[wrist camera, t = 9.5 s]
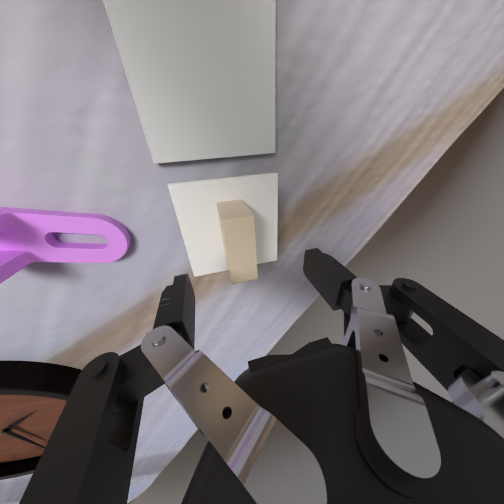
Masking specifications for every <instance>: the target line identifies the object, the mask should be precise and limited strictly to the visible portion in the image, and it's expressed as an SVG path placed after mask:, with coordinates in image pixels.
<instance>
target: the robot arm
mask: <svg viewBox="0 0 504 504" xmlns="http://www.w3.org/2000/svg"><path fill="white" fill-rule="evenodd" d="M303 271H304V274H305V276H306V277H307V279H308V280H309V281H310V282H311V283H312V285H313V286H314V287H315V288H316V290H317V291H318V292H319V293H320V294H321V296H322V297H323V298H324V299H325V300H326V302H327V303H328V304H329V305H330V306H331V308H332V309H333V310H338V309H342V310H343V313H342V345H340V344H332V343H331V342H330V340H329V339H328V338H324V339H320V340H317V341H314V342H310V343H308V344H307V345H305V346H304V347H302V348H301V349H299V350H298V351H296V352H295V353H293V354H290V355H267V356H264V357H261V358H258V359H254V360H251V361H248V366H249V369H247V370H246V371H244V372H243V373H242V374H241V375H240V376H239V377H238V378H237V379H236V380H235V382H233V381H232V380H231V379H230V378H229V377H228V376H227V375H226V374H225V373H224V372H223V371H222V370H221V369H220V368H219V367H217V366H216V365H215V364H214V363H213V362H212V361H211V360H210V359H209V358H208V357H207V356H206V355H205V354H204V353H203V352H201V351H200V350H197V351H196V350H194V335H195V295H194V291H193V288H192V285H191V282H190V278H189V276H188V274H183V275H178V276H175V277H174V282H173V285H170V286H167V287H166V288H165V290H164V291H163V292H162V295H161V299H160V303H159V307H158V311H157V315H156V319H155V323H154V327H153V330H151V331H150V332H149V333H148V334H147V335H146V336H145V337H144V339H143V341H142V343H141V345H139V346H137V347H136V348H134V349H132V350H130V351H128V352H126V353H124V354H122V355H121V356H119V355H118V354H117V353H114V352H108V353H104V354H102V355H100V356H98V357H96V358H95V359H93V360H92V361H91V362H89V363H88V364H87V365H86V366H85V367H84V369H83V370H82V371H81V373H80V374H79V376H78V378H77V380H76V383H75V385H74V387H73V389H72V391H71V393H70V395H69V398H68V400H67V402H66V404H65V406H64V408H63V411H62V413H61V415H60V417H59V419H58V421H57V423H56V426H55V428H54V430H53V432H52V434H51V436H50V438H49V441H48V443H47V445H46V447H45V449H44V451H43V454H42V456H41V458H40V460H39V462H38V464H37V466H36V469H35V471H34V473H33V475H32V477H31V479H30V482H29V484H28V486H27V488H26V490H25V492H24V494H23V497H22V499H21V501H20V503H19V504H127V499H128V493H129V487H130V481H131V475H132V469H133V462H134V456H135V450H136V444H137V438H138V432H139V426H140V420H141V414H142V407H143V401H144V397H145V396H146V395H148V394H150V393H151V392H153V391H154V390H156V389H157V388H159V387H160V386H162V385H163V384H165V385H166V386H167V387H168V389H169V390H170V391H171V393H172V394H173V395H174V397H175V398H176V399H177V401H178V402H179V404H180V405H181V406H182V408H183V409H184V410H185V412H186V413H187V414H188V416H189V417H190V419H191V420H192V421H193V423H194V424H195V425H196V427H197V428H198V430H199V431H200V432H201V434H202V435H203V436H204V437H205V439H206V440H207V443H206V446H205V448H204V451H203V453H202V455H201V458H200V460H199V463H198V465H197V467H196V470H195V472H194V474H193V477H192V479H191V482H190V484H189V486H188V489H187V491H186V494H185V496H184V498H183V501H182V503H181V504H504V340H502V339H501V338H499V337H498V336H496V335H495V334H493V333H492V332H490V331H489V330H488V329H486V328H485V327H483V326H482V325H480V324H478V323H477V322H475V321H474V320H473V319H471V318H469V317H468V316H467V315H465V314H464V313H462V312H461V311H459V310H458V309H456V308H454V307H453V306H452V305H450V304H448V303H447V302H446V301H444V300H443V299H441V298H440V297H438V296H436V295H435V294H434V293H432V292H431V291H429V290H428V289H426V288H425V287H423V286H422V285H420V284H419V283H417V282H415V281H413V280H410V279H405V278H397V279H395V280H394V281H393V283H392V286H386V285H384V286H383V285H378V284H377V283H375V282H374V281H372V280H369V279H366V278H357V277H356V276H355V275H354V274H353V273H351V272H350V271H349V270H348V269H347V268H345V267H344V266H342V264H341V263H339V262H338V261H337V260H336V259H334V258H333V257H332V256H330V255H327V254H324V253H322V252H321V251H320V250H319V249H318V248H314V249H309V250H306V251H305V256H304V265H303ZM414 312H415V313H416V314H417V315H418V316H420V317H421V318H422V319H423V320H424V321H426V322H427V323H428V324H429V325H430V326H431V328H432V329H433V335H432V336H431V335H430V334H429V333H428V332H427V331H426V330H425V329H423V328H422V327H421V326H420V325H419V324H418V323H416V322H415V321H414V320H413V319H412V318H411V316H412V314H413V313H414ZM402 344H403V345H404V346H405V347H406V348H407V349H408V350H409V351H410V352H411V353H412V354H413V355H414V356H415V357H416V358H417V359H418V360H419V362H420V363H422V365H423V366H424V367H425V368H426V369H427V370H428V371H429V372H430V373H431V374H432V375H433V376H434V377H435V378H436V379H437V380H438V381H439V382H440V383H441V384H442V386H444V388H446V390H447V391H448V393H449V395H450V397H451V399H452V400H453V402H452V403H451V402H450V401H448V400H446V399H444V398H442V397H440V396H439V395H437V394H435V393H433V392H431V391H430V390H428V389H426V388H424V387H422V386H421V385H419V384H417V383H415V382H413V380H412V377H411V373H410V370H409V367H408V363H407V360H406V356H405V353H404V350H403V346H402Z"/></svg>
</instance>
